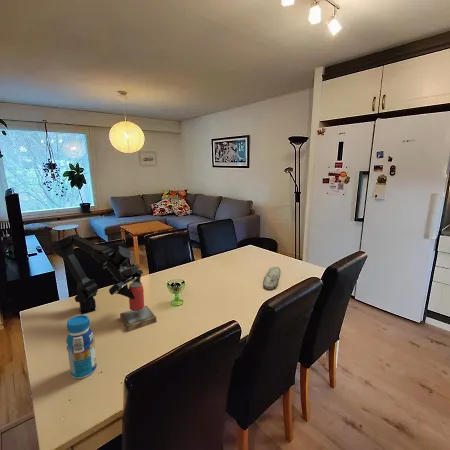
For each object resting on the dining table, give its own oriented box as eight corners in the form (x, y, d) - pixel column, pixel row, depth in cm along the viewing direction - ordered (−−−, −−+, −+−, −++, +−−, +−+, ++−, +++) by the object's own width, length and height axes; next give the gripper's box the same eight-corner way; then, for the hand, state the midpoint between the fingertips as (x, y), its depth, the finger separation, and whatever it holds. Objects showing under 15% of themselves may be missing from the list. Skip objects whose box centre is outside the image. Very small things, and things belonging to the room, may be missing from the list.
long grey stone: (282, 272, 189) (268, 271, 192) (282, 265, 188) (268, 264, 191) (277, 291, 156) (260, 289, 159) (277, 282, 155) (260, 281, 158)
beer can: (136, 303, 129) (134, 280, 126) (147, 306, 126) (146, 282, 124) (126, 309, 123) (124, 285, 120) (137, 312, 120) (136, 288, 118)
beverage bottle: (64, 375, 92) (57, 323, 88) (85, 359, 100) (79, 311, 96) (83, 382, 89) (76, 329, 85) (102, 365, 97) (97, 316, 93)
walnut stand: (128, 331, 117) (127, 325, 116) (120, 318, 127) (119, 312, 127) (156, 321, 124) (156, 316, 124) (146, 310, 135) (146, 304, 134)
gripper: (112, 266, 112) (136, 294, 111) (139, 253, 130) (159, 277, 129) (98, 281, 116) (121, 308, 115) (126, 266, 134) (146, 290, 133)
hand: (138, 295), depth 123 cm, fingers closed on beer can, 7 cm apart
